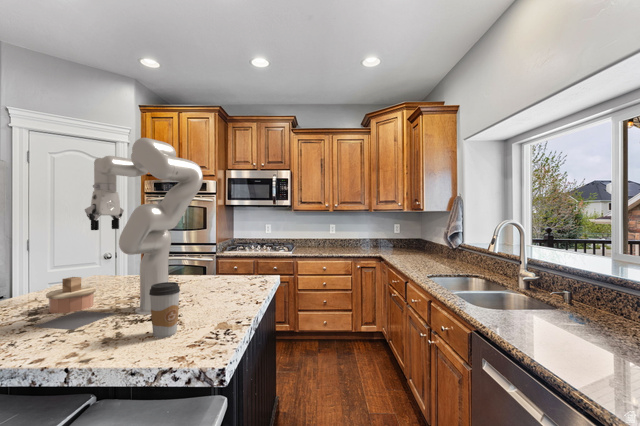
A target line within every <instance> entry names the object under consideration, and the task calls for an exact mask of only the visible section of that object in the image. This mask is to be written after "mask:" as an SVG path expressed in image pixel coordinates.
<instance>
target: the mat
mask: <svg viewBox="0 0 640 426" xmlns="http://www.w3.org/2000/svg"><path fill="white" fill-rule="evenodd" d="M116 314H117V313H114V312H101V311H87V310H86V311H84V310H80V311H74V312H71V313H69V314H66V315H62V316H60V317H57V318H53V319H50V320H48V321H44V322H42V323H38V324H35V325H32V326H31V328H46V329H57V330H58V329H59V330H71V331H74V330H77V329H79V328H82V327H84V326H87V325H90V324H93V323H94V322H98V321H100V320H103V319H106V318H108V317H111V316H114V315H116Z"/></svg>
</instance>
